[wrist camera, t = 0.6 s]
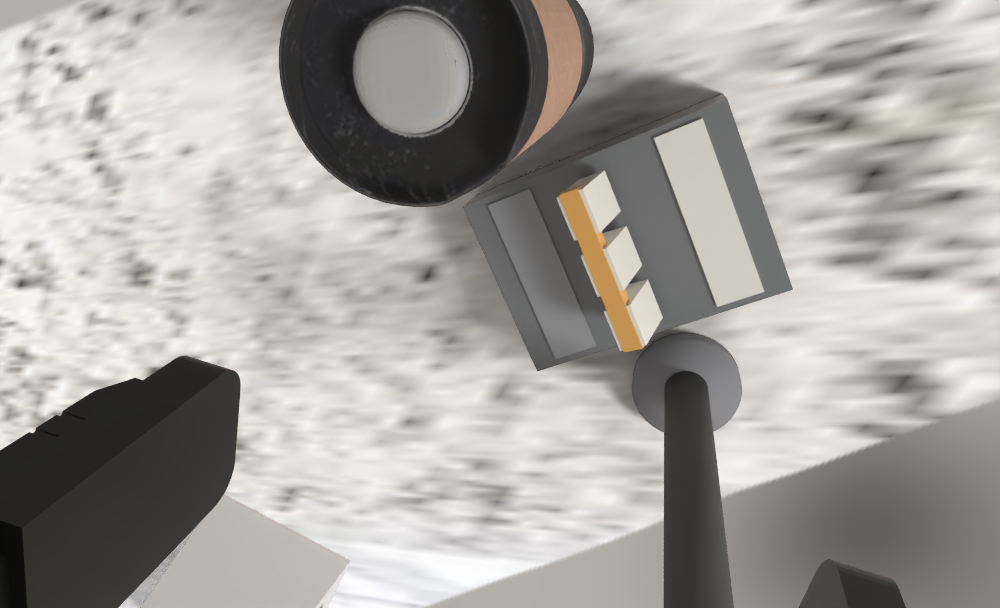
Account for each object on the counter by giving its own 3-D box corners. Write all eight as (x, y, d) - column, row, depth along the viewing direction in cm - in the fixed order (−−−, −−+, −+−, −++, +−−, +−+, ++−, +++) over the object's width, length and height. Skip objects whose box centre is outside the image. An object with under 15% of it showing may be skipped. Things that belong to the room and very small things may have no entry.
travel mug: (467, -43, 38) (283, -106, 20) (616, -13, 37) (567, -50, 19) (444, 109, 41) (263, 178, 22) (580, 140, 40) (509, 239, 22)
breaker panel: (722, 93, 38) (727, 98, 35) (784, 271, 40) (793, 290, 37) (476, 195, 42) (462, 207, 39) (545, 349, 45) (536, 372, 42)
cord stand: (719, 319, 42) (767, 575, 22) (754, 410, 43) (826, 726, 24) (618, 351, 44) (579, 613, 24) (654, 438, 45) (645, 751, 26)
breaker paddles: (603, 168, 37) (581, 187, 34) (663, 318, 39) (646, 347, 36) (579, 177, 37) (555, 196, 35) (638, 324, 40) (620, 353, 37)
